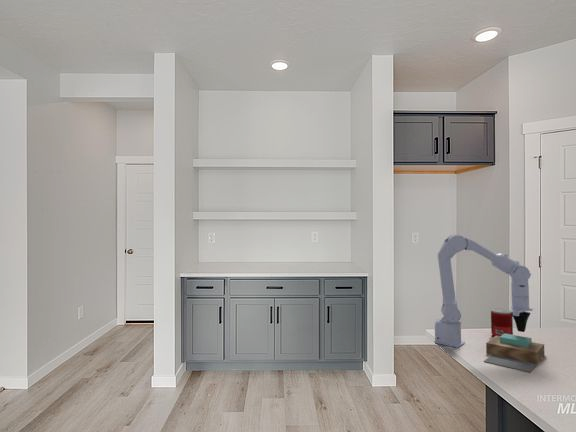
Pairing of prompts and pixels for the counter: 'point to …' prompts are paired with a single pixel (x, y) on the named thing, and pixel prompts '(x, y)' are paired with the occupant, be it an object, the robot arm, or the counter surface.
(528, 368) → the mat
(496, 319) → the canned food
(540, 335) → the counter surface
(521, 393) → the counter surface
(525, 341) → the teal rectangular block
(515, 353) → the board
